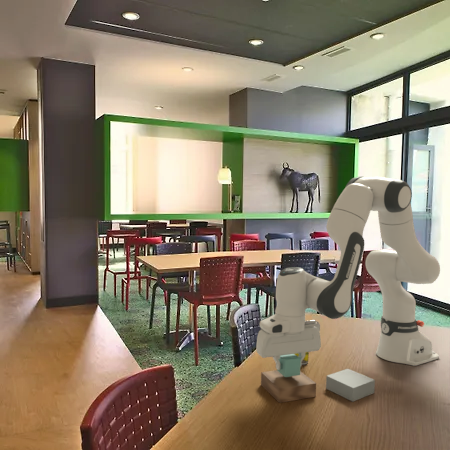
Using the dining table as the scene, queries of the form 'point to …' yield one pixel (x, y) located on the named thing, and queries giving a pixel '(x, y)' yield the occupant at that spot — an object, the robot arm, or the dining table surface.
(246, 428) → the dining table surface
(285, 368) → the teal cube
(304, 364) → the supplement bottle
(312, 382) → the walnut block
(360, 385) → the slate block
